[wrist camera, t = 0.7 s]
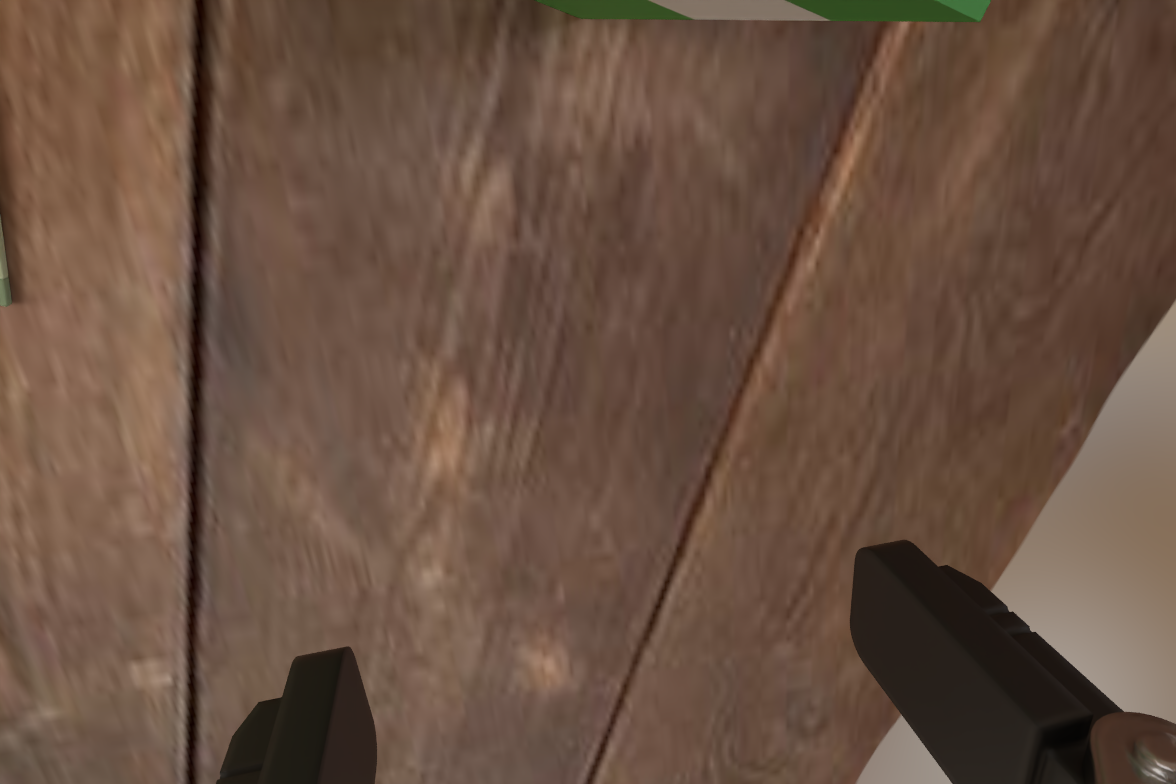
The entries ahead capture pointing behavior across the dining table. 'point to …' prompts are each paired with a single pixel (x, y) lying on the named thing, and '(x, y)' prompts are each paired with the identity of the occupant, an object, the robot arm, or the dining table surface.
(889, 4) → the hardback book
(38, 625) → the dining table surface
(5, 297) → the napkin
